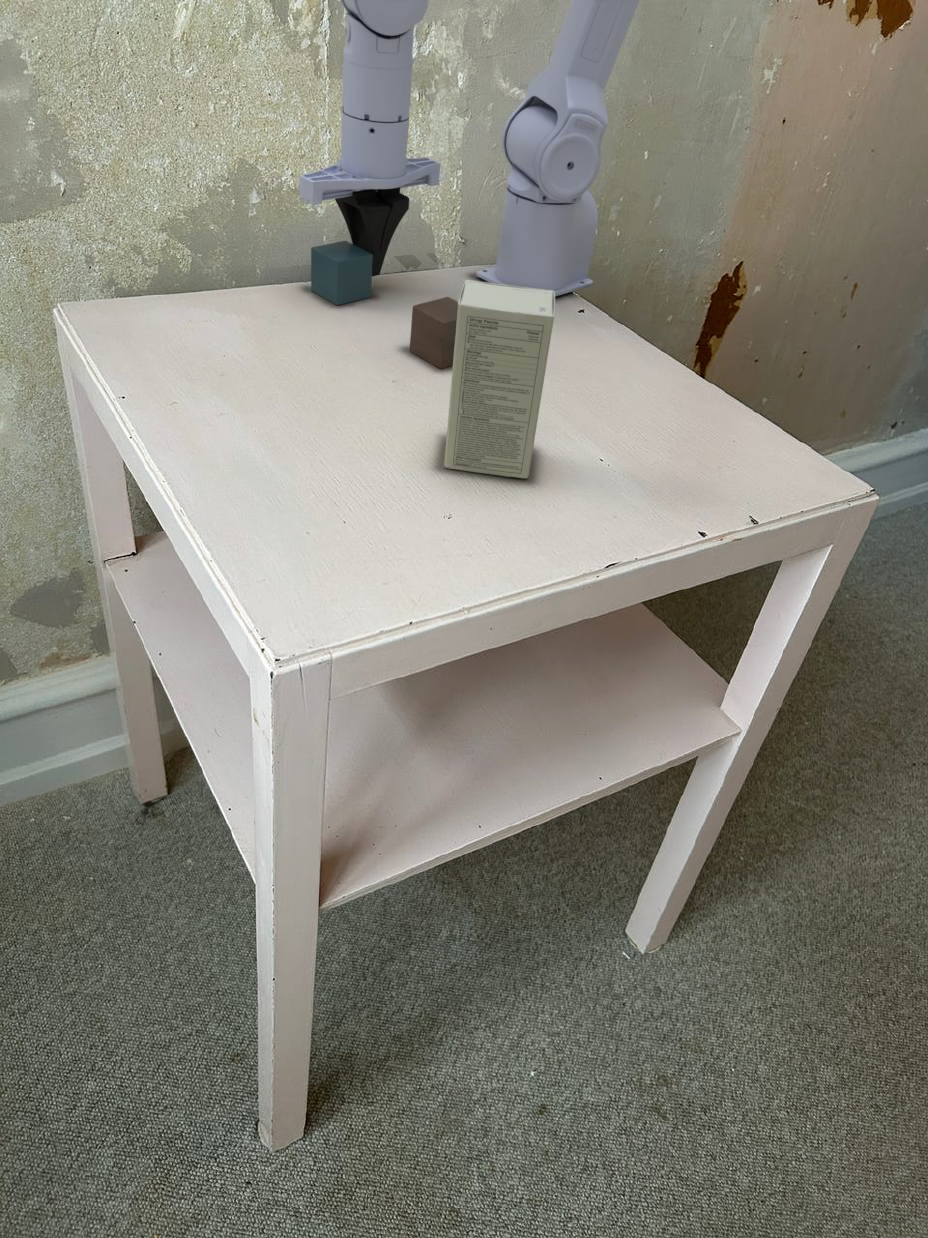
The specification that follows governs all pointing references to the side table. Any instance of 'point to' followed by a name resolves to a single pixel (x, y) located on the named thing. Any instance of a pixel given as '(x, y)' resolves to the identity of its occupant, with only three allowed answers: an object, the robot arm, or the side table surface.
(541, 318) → the cosmetic box
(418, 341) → the walnut block
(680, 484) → the side table surface
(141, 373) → the side table surface
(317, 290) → the slate block
